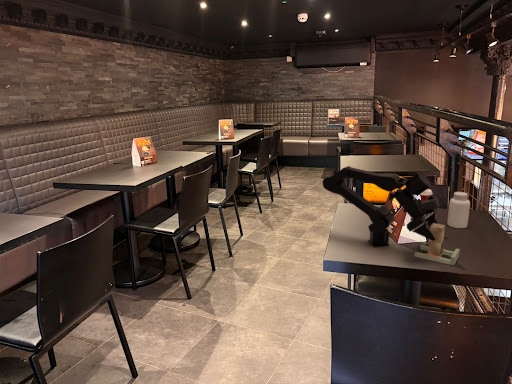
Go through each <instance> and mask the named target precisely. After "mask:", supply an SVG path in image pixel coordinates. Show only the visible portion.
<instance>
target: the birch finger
mask: <svg viewBox="0 0 512 384" xmlns="http://www.w3.org/2000/svg"><path fill="white" fill-rule="evenodd" d="M429 227H430V228H429V230H430V231H431V233H432V234H433V236H434V237H435V239H436V240H434V241H432V240H430V239H428V247H429V248H428V251H427V254H431V255H436V256H440V257H441V258H442V256H443V254H442V252H443V249H444V244H445V240H444V239H445V229H446V225H445V224H440V223H438V224H435V223H433V224H432V225H431V226H429Z"/></svg>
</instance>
